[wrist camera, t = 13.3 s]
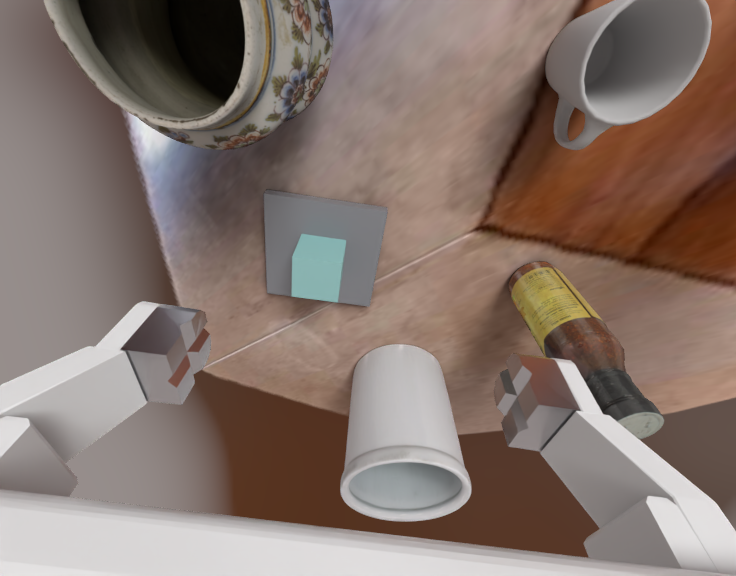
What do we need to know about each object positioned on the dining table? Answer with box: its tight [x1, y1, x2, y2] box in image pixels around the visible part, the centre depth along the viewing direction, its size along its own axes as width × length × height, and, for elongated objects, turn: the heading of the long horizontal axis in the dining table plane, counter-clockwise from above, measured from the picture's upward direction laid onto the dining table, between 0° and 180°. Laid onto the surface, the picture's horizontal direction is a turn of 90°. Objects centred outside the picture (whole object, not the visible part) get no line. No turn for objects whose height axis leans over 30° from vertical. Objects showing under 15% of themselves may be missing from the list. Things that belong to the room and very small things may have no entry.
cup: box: [545, 0, 712, 150], centre depth 26 cm, size 8×10×8 cm
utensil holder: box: [340, 344, 471, 521], centre depth 46 cm, size 15×15×18 cm
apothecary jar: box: [43, 0, 333, 150], centre depth 21 cm, size 12×12×18 cm
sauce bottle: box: [509, 261, 664, 439], centre depth 34 cm, size 7×6×20 cm
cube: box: [292, 234, 346, 303], centre depth 37 cm, size 5×5×5 cm
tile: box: [264, 190, 388, 306], centre depth 40 cm, size 13×13×1 cm
